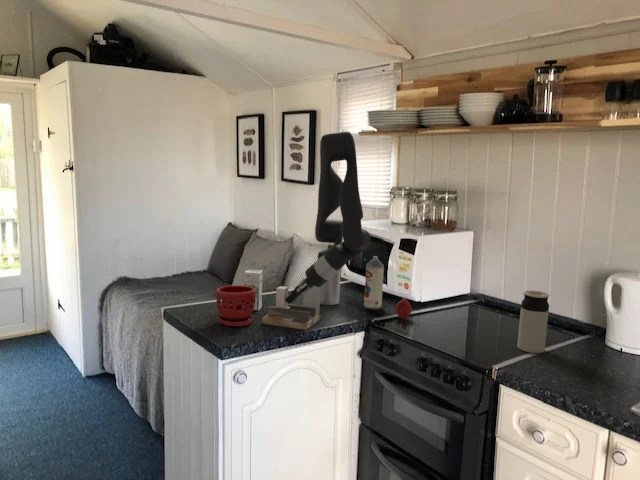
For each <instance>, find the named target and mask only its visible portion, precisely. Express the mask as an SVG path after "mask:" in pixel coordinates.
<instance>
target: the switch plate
mask: <svg viewBox="0 0 640 480" xmlns="http://www.w3.org/2000/svg"><path fill="white" fill-rule="evenodd" d="M275 306H276V302H275V303H274V306H268V307H267V314H266V315H264V316H263V317H261V324H264V325H269V326H274V327H275V326H276V327H277V326H278V327H283V328H288V329H289V328H290V329H295V330H296V329H297V330H304V331H307V330H308V329H310V327H312V326H313V325H314V324H315V323H317V322H319V321H320V320H321V313H320V312H319V313H316V307H309V306H303V305H301V304H300V305H299V304H293V303H290V304H288V306H289V307H291V309H285V308H278V307H275Z"/></svg>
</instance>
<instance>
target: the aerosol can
mask: <svg viewBox="0 0 640 480" xmlns="http://www.w3.org/2000/svg"><path fill="white" fill-rule="evenodd" d="M378 257H379V256H376V255H375V256H374V255H373V258H372V259H371V260H370V261H369V262H368V263H366V266H365V281H364V282H365V283H364V299H363V300H364V301H363V308H365V309H368V310H380V309H382V305H383V304H382V302H383V288H384V286H383V285H384V270H385V267H384V264H383V263H382V261H380V260H379V258H378Z"/></svg>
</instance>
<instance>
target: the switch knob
mask: <svg viewBox="0 0 640 480" xmlns="http://www.w3.org/2000/svg"><path fill="white" fill-rule="evenodd" d="M275 289H276V292H275V303H276V306H275V305H274V307H278V308H285V309H291V307H289V306H288V303H287V302H286V300H285V299H286V298H287V297H288V296H289V286H282V285H280V286H278V287H276V288H275Z"/></svg>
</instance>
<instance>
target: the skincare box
mask: <svg viewBox="0 0 640 480" xmlns="http://www.w3.org/2000/svg"><path fill="white" fill-rule="evenodd" d="M302 306H309V307H316V313H319V314H320V311H321V310H320V308H321V307H320V306H321V304H320V287H316V286H314V287H313V288H311V289H310V290H308V291H307V292H306V293H304V294H303V304H302Z"/></svg>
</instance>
